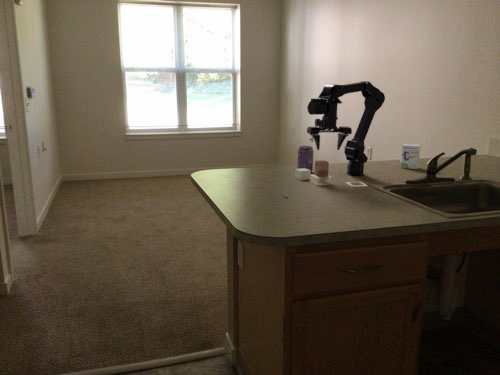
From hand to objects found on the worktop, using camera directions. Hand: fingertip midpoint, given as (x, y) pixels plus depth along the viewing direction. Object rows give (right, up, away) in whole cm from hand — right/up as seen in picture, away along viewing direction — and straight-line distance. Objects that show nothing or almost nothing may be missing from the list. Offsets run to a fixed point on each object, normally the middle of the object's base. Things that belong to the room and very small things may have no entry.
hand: (328, 150), depth 196 cm
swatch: (+10, -15, -9) cm, 20 cm away
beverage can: (-9, -9, +14) cm, 19 cm away
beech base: (-4, -15, -7) cm, 17 cm away
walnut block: (-4, -11, -7) cm, 14 cm away
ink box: (+46, -7, +29) cm, 54 cm away
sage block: (-11, -13, +2) cm, 17 cm away
